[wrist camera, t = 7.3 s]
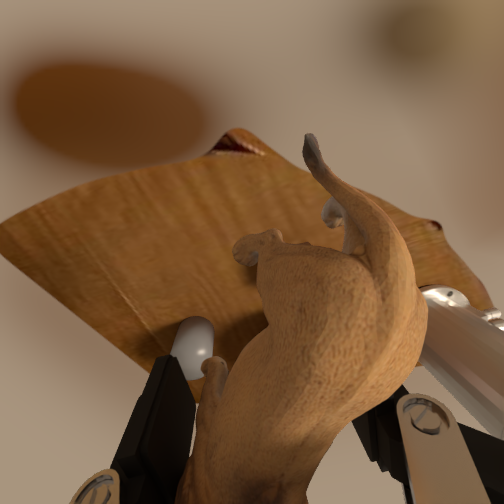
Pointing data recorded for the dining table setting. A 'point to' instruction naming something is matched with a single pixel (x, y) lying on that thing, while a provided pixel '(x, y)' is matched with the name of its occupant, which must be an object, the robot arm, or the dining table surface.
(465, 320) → the robot arm
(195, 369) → the light grey cylinder
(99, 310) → the dining table surface
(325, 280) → the lion figurine
